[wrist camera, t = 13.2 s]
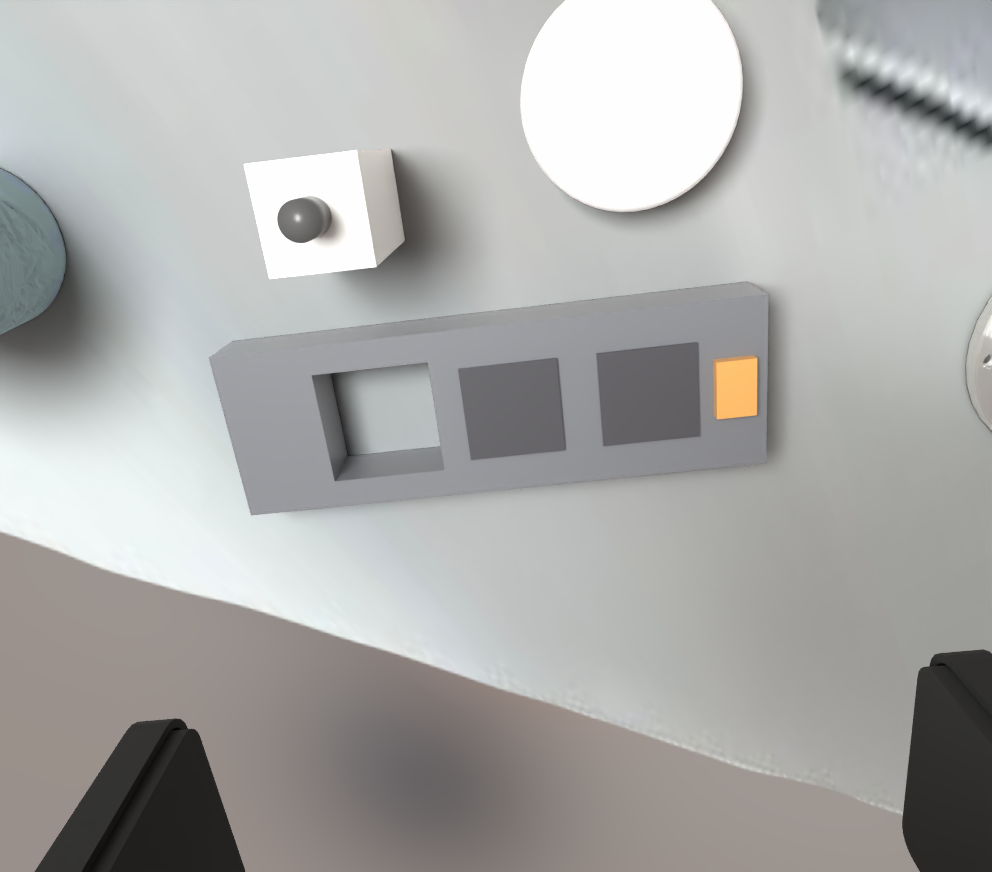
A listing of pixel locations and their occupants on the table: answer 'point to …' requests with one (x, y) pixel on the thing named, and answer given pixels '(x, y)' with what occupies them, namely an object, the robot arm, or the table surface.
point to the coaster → (631, 99)
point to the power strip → (510, 398)
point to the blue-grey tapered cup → (27, 254)
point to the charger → (326, 211)
